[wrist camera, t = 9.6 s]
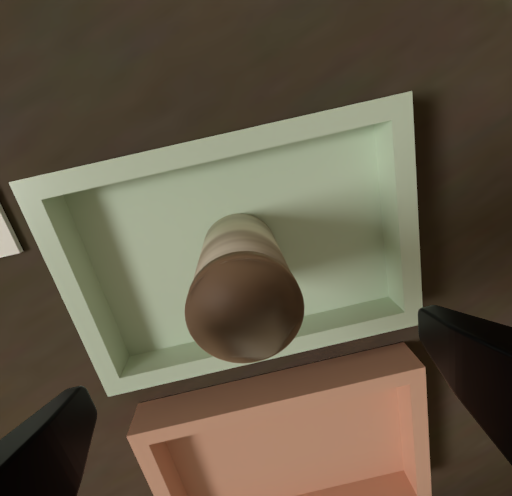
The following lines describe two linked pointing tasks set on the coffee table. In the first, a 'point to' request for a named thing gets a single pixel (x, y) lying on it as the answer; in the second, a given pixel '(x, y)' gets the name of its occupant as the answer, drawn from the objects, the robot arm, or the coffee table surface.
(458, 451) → the coffee table surface
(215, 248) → the beige brown cylinder
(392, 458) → the terracotta tray
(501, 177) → the coffee table surface
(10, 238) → the card
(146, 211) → the sage tray
